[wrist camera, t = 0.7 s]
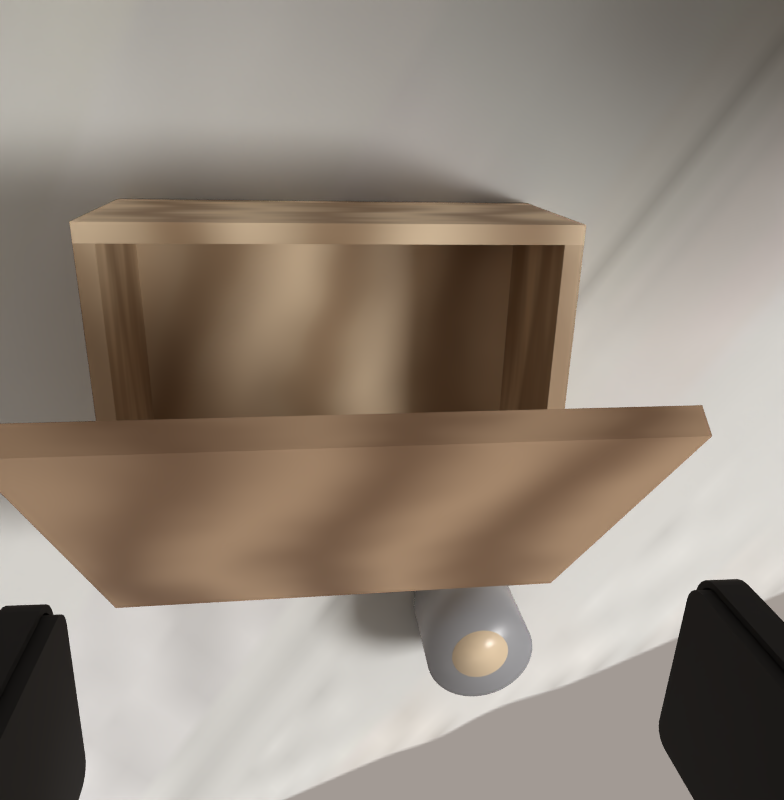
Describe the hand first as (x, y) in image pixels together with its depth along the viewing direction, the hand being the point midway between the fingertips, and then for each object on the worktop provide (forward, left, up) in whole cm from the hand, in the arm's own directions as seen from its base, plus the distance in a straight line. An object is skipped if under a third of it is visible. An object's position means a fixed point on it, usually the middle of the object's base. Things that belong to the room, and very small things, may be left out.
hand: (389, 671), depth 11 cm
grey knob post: (-8, +20, -28) cm, 36 cm away
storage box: (0, +4, -28) cm, 29 cm away
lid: (0, +6, -15) cm, 16 cm away
